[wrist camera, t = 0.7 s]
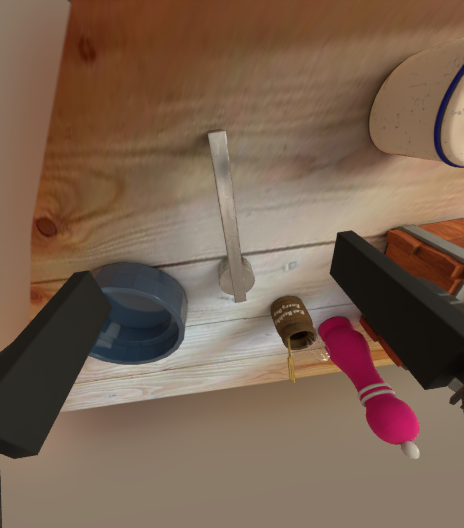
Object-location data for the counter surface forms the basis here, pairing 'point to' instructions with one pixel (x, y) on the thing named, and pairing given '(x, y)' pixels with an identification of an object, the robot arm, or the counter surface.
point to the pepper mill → (370, 385)
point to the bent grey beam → (229, 222)
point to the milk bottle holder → (427, 264)
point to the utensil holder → (294, 327)
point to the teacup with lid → (423, 106)
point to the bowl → (139, 314)
